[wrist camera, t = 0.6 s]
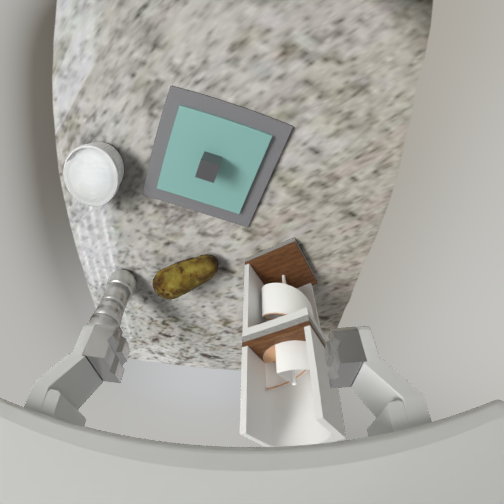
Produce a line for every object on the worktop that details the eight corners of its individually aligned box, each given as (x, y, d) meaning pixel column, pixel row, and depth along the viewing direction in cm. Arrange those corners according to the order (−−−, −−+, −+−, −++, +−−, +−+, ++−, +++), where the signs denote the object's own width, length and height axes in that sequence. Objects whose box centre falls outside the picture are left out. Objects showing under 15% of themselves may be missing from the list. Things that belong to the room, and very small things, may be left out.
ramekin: (113, 126, 44) (100, 134, 40) (139, 181, 50) (129, 194, 46) (67, 151, 46) (52, 162, 42) (93, 200, 52) (81, 214, 48)
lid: (180, 104, 42) (173, 110, 38) (272, 134, 45) (274, 143, 41) (157, 186, 50) (150, 199, 46) (239, 211, 53) (238, 226, 49)
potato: (220, 280, 64) (217, 308, 57) (162, 278, 64) (153, 305, 57) (218, 248, 59) (214, 276, 52) (155, 247, 59) (144, 273, 52)
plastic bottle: (144, 278, 64) (118, 353, 48) (127, 291, 66) (101, 362, 50) (122, 260, 61) (89, 333, 45) (107, 274, 63) (74, 344, 47)
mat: (171, 85, 40) (170, 85, 40) (292, 125, 44) (293, 126, 44) (143, 193, 51) (142, 194, 51) (247, 225, 56) (247, 227, 55)
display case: (315, 277, 63) (346, 438, 35) (270, 294, 66) (278, 452, 38) (294, 237, 57) (322, 417, 29) (245, 258, 60) (239, 434, 32)
